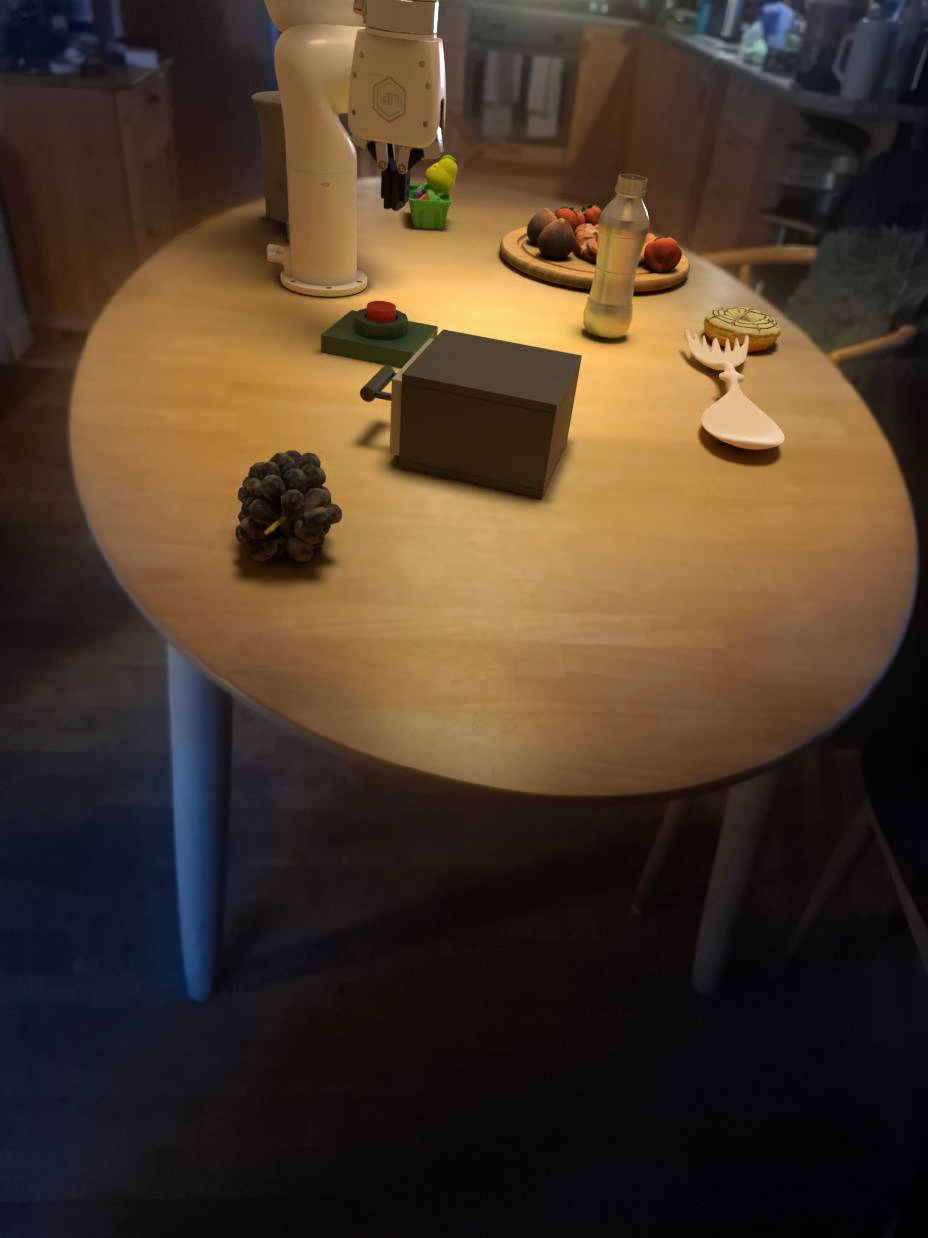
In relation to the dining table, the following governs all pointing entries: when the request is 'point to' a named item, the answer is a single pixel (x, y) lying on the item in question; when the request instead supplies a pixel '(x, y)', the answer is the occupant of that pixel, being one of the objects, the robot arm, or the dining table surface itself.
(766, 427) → the cream spork
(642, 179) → the plastic bottle
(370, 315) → the button
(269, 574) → the dining table surface
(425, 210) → the fruit basket
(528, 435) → the cabinet
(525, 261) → the wooden plate
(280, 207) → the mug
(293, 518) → the fruit
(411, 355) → the control block
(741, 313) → the decorated donut
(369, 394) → the drawer
